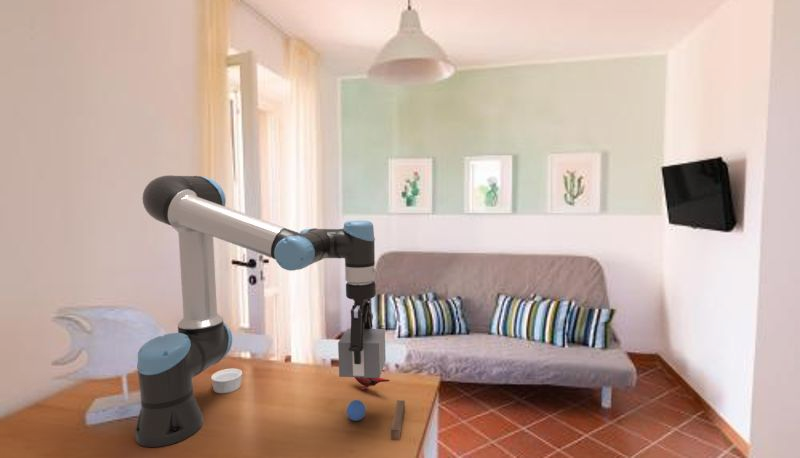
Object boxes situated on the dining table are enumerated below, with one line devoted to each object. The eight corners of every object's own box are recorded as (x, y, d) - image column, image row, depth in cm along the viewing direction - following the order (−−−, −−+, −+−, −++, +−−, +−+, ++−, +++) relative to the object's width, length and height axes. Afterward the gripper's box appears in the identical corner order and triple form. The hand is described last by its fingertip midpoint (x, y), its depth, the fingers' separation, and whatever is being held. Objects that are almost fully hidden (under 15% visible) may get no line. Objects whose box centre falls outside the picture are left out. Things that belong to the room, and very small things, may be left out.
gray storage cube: (339, 376, 104) (338, 342, 103) (348, 359, 114) (347, 328, 113) (379, 377, 103) (379, 343, 102) (385, 360, 113) (384, 329, 112)
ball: (367, 414, 107) (356, 428, 108) (370, 404, 112) (359, 417, 113) (352, 402, 107) (340, 416, 108) (356, 392, 112) (345, 406, 113)
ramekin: (248, 382, 133) (247, 369, 133) (232, 395, 125) (231, 381, 124) (223, 380, 135) (222, 367, 135) (205, 393, 126) (204, 380, 126)
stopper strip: (391, 439, 101) (390, 429, 101) (397, 408, 115) (397, 400, 115) (399, 439, 101) (399, 429, 101) (404, 409, 115) (404, 400, 115)
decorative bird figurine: (352, 381, 132) (351, 350, 131) (393, 399, 120) (392, 365, 119) (345, 384, 130) (344, 353, 129) (386, 403, 118) (386, 369, 117)
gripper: (366, 293, 95) (369, 387, 97) (381, 272, 117) (383, 349, 120) (334, 292, 96) (337, 385, 98) (355, 272, 118) (357, 348, 120)
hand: (363, 365), depth 109 cm, fingers closed on gray storage cube, 10 cm apart
